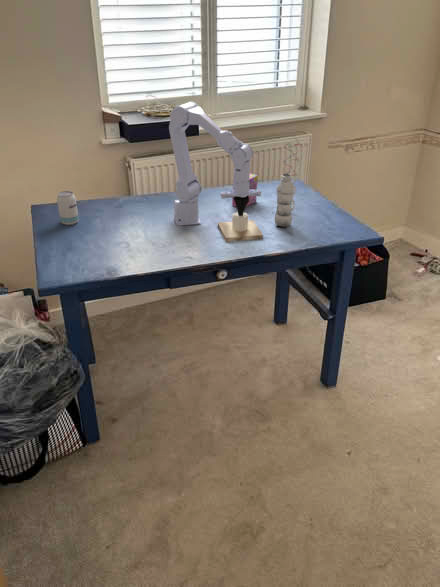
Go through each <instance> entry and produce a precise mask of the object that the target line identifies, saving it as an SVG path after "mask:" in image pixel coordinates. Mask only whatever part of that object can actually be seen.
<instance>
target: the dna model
mask: <svg viewBox="0 0 440 587" xmlns="http://www.w3.org/2000/svg"><path fill="white" fill-rule="evenodd" d="M292 138H293V139H294V140H295V141H296V142H297V143H294V144H292V142H294V141H293V140H290V141H288V142H286V143H285V144H284V148H285V149H286V151H288V152H290V155H289V156H287V157H285V158H284V159H283V161H282V162H283V164H285V165H286V166H287V167H288V168H289V171H287V172H285V173H284V174H289V173H291V172H292V171H293V172H294V175H295V179H294V180H293V181H291V183H292V185H293V187H294V194H293V197H295V195H296V192H297V189H296V185H295V182H297V180H298V176H299V174H298V173H297V170H295V169H297V167H298V165H299V162H300V160H299V157H298V155H297V153H298V152H299V151H300V148H301V143H300V141H299V140H298V139H297V138H296V137H295V136H292ZM290 143H291V144H290ZM292 145H294V146H298V147H297V150H296V151H294V152H293V151H292V150H291V149H289V148H288V146H292ZM291 157H294V158H296V165H294V166H293V167H292V165H290V164H289V163H287V161H291V159H290V158H291ZM295 205H296V204H295V201H294V198H292V207H291V212H292V211H293V210H294V209H295Z"/></svg>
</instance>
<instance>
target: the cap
mask: <svg viewBox="0 0 440 587" xmlns="http://www.w3.org/2000/svg"><path fill="white" fill-rule="evenodd" d="M248 220H249V215H248V213H246V212H244V213H243V216H239V215H238V211H236V212H234V213H232V221H231V222H232V228H233V230H234V231H238V232H242V231H246V230H247V229H248Z"/></svg>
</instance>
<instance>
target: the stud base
mask: <svg viewBox="0 0 440 587" xmlns="http://www.w3.org/2000/svg"><path fill="white" fill-rule="evenodd" d="M217 227H218V229H219V231H220V234H221V235H222V237H223V239H224V241H225V242H237V241H238V242H239V241H249V240H251V241H252V240H260V239H261V240H262V239H263V238H264V234H263V233H262V231H261V230H260V228H259V227H258V225H257V224H256V222H255V221H254V220H253V219H248V229H247V230H246V231H242V232H238V231H234V230H233V228H232V221H221V222H217Z"/></svg>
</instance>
